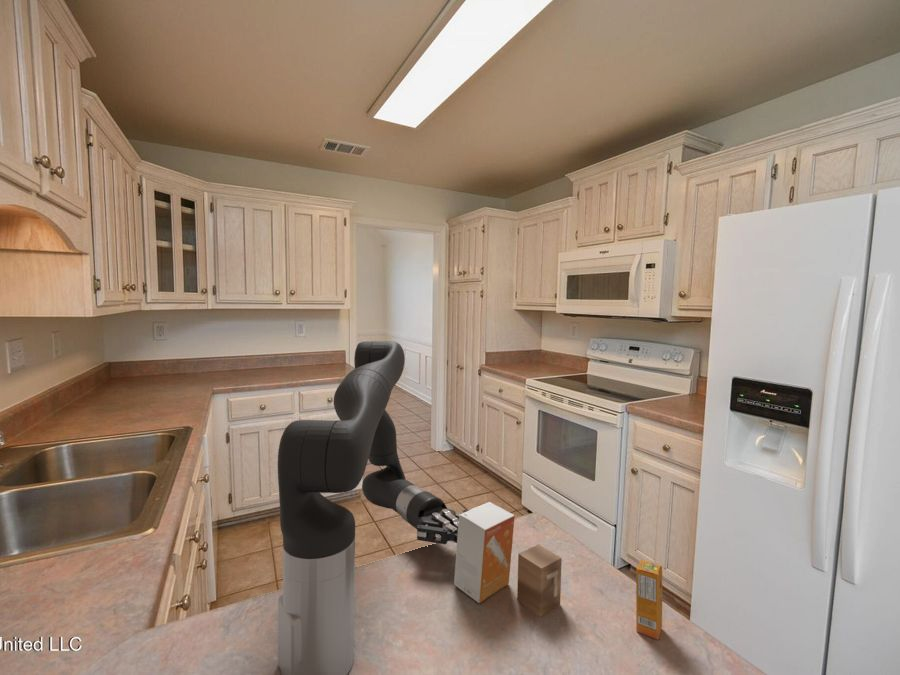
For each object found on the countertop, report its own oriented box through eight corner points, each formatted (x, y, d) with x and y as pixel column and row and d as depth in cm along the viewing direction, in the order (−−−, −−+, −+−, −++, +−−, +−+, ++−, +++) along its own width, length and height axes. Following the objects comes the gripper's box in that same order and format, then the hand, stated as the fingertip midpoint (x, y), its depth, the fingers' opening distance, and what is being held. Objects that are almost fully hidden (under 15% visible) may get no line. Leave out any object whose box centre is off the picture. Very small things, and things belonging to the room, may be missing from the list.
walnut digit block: (541, 618, 66) (542, 569, 65) (517, 599, 70) (518, 553, 69) (561, 605, 69) (563, 558, 68) (537, 588, 73) (538, 544, 72)
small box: (479, 605, 68) (484, 530, 67) (453, 584, 73) (457, 513, 72) (510, 584, 74) (515, 514, 73) (483, 566, 78) (488, 500, 77)
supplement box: (638, 618, 66) (640, 557, 65) (662, 628, 64) (664, 565, 63) (633, 631, 63) (636, 567, 63) (658, 641, 61) (661, 576, 61)
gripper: (393, 498, 85) (443, 534, 71) (445, 484, 93) (498, 513, 79) (393, 534, 85) (442, 576, 71) (444, 517, 93) (498, 551, 79)
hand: (472, 543), depth 75 cm, fingers closed
